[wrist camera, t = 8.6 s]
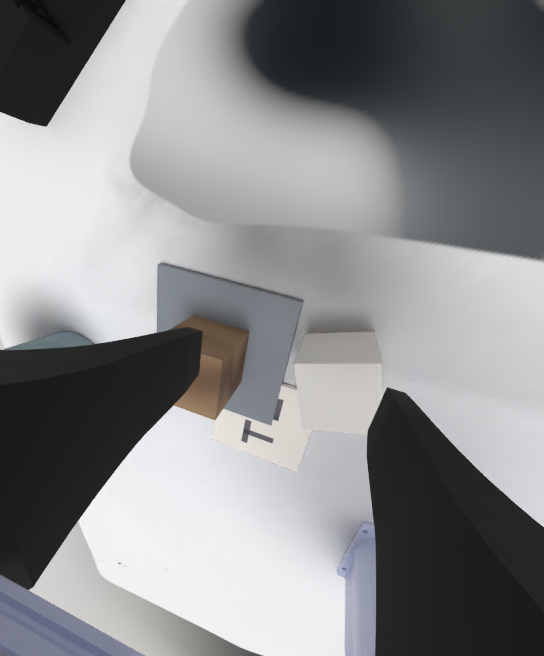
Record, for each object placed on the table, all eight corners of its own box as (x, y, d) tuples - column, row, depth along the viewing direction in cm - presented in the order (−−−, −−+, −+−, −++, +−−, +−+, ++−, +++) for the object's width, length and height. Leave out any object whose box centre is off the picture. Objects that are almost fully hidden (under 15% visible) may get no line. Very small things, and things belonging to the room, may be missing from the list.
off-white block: (375, 389, 21) (382, 435, 16) (311, 388, 22) (302, 429, 18) (374, 330, 19) (382, 363, 15) (305, 333, 20) (293, 363, 16)
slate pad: (272, 422, 24) (271, 425, 24) (159, 382, 26) (156, 384, 26) (303, 301, 20) (301, 302, 19) (161, 263, 22) (157, 264, 21)
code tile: (297, 468, 26) (297, 472, 25) (214, 436, 27) (212, 439, 27) (322, 395, 22) (322, 398, 22) (223, 363, 23) (221, 365, 23)
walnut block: (241, 382, 23) (215, 420, 19) (190, 365, 24) (153, 398, 19) (249, 331, 21) (222, 360, 17) (193, 315, 22) (153, 338, 17)
